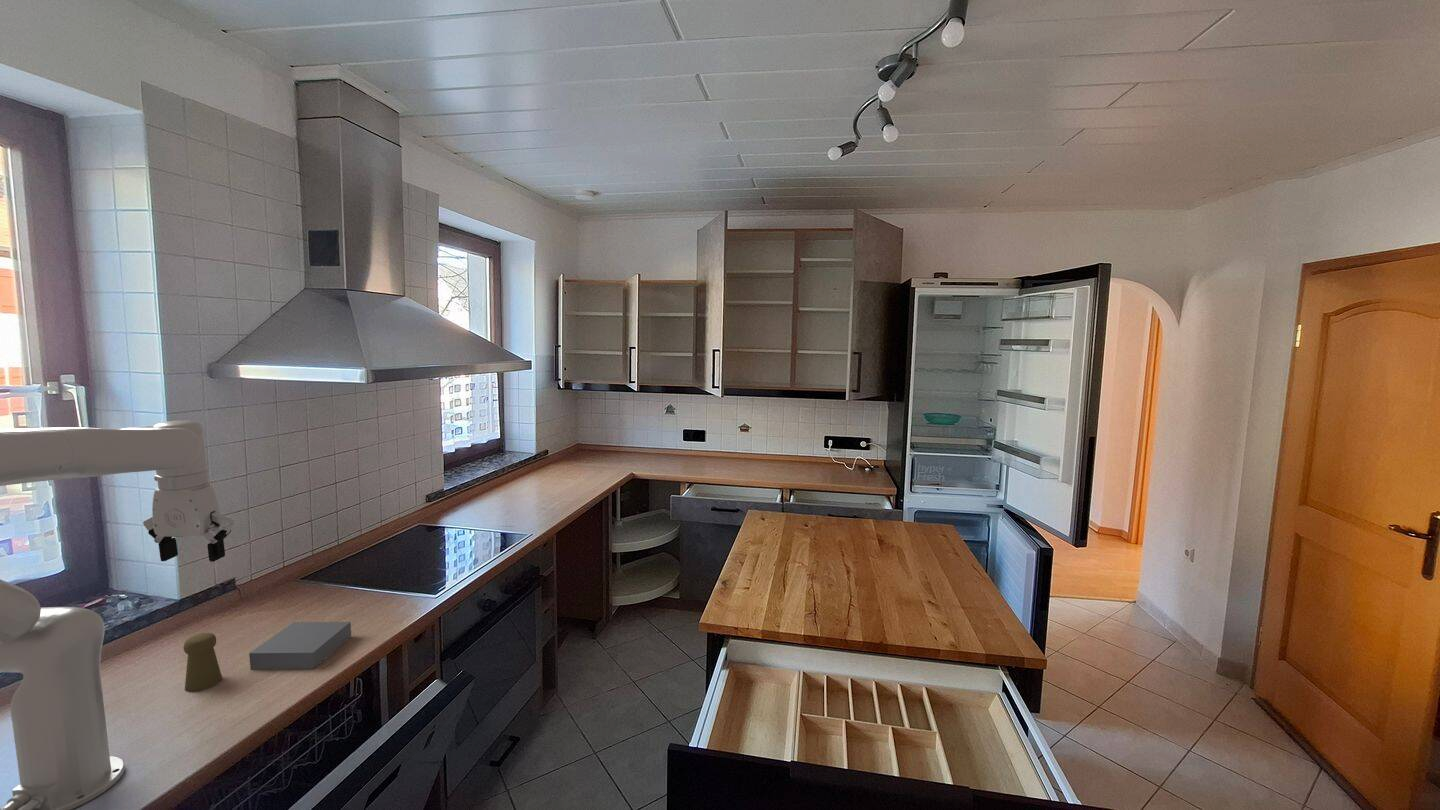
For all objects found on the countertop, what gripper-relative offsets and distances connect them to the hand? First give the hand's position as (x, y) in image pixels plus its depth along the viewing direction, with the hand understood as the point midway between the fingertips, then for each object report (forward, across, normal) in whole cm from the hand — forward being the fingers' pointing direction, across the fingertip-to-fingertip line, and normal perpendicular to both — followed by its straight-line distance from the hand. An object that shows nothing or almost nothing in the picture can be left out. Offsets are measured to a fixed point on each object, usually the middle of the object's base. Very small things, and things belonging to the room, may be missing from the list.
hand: (193, 558), depth 116 cm
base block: (+29, +12, +12) cm, 34 cm away
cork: (+29, -1, 0) cm, 29 cm away
